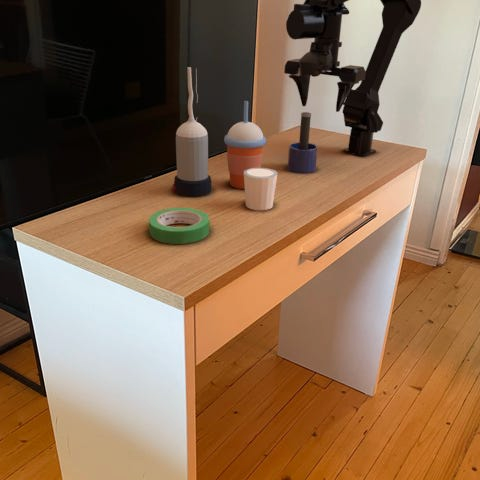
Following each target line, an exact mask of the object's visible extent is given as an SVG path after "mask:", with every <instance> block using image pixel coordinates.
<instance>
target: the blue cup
mask: <svg viewBox="0 0 480 480" xmlns="http://www.w3.org/2000/svg"><path fill="white" fill-rule="evenodd" d="M318 148H319V147H318V145H317V144H315V143H311V142H309V143H308V150H300V149H299V142H293V143H290V144H289V146H288V157H287V170H288V171H290V172H292V173H296V174H297V173H298V174H310V173H314V172H316V169H317V159H318Z"/></svg>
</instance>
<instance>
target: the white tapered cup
mask: <svg viewBox="0 0 480 480" xmlns="http://www.w3.org/2000/svg"><path fill="white" fill-rule="evenodd" d="M277 179H278V172H277V170H275V169H272V168H267V167H261V168H250V169H247V170H245V171H244V186H245V189H244V198H245V200H244V201H245V207H246V208H248V209H250V210H254V211H267V210H270V209H272V208H273V207H274V200H275V194H276V187H277V181H278V180H277Z"/></svg>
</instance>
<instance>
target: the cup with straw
mask: <svg viewBox="0 0 480 480" xmlns="http://www.w3.org/2000/svg"><path fill="white" fill-rule="evenodd" d="M223 142H224V144H225V146H227V147H226V149H227V150H226V158H227V169H228V171H227V172H229V173H228V174H229V183H230V186H231V187H233V188H235V189H239V190H245V186H244V171H245V170H247V169H250V168H262V161H263V155H264V154H263V153H264V151H263V147H264V146H265V145H266V143H267V138H266V136H265V135H264V133H263V131H262V129H261V128H260V127H259V126H258V125H257V124H255V123H254V122H251V121H249V101H248V100H244V101H243V121H239V122H237V123H235V124H234V125H232V126H231V127H230V129H228V132H227V134H225V135H224V139H223Z"/></svg>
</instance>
